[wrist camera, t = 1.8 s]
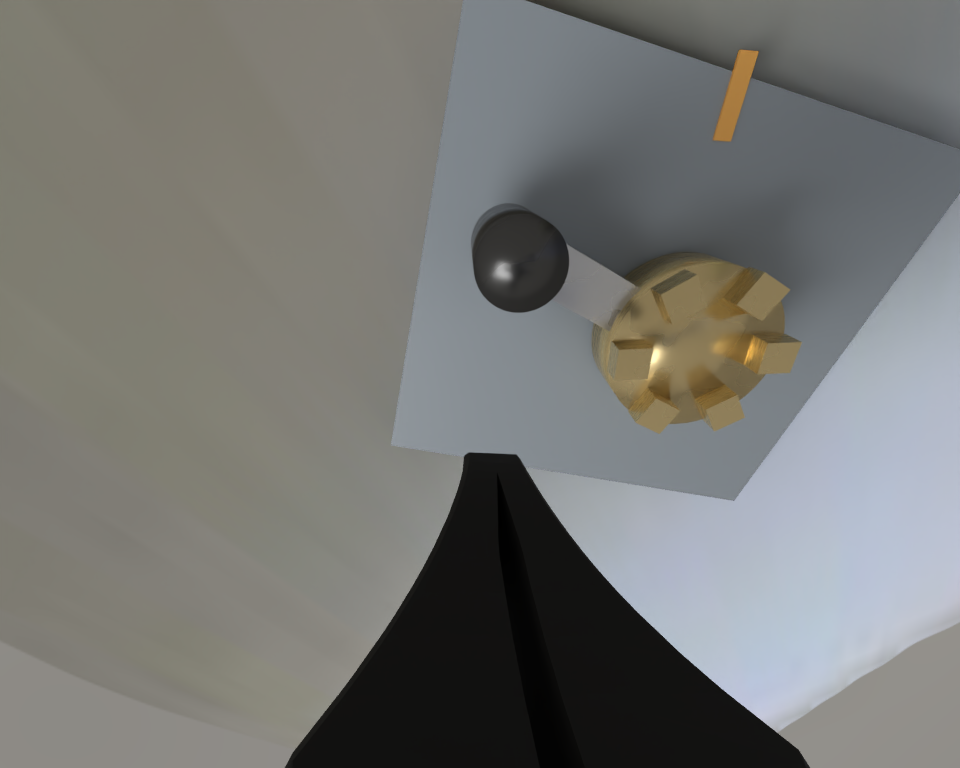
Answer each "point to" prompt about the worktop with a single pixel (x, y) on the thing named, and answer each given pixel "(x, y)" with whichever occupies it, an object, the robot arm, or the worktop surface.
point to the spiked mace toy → (646, 317)
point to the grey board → (644, 237)
